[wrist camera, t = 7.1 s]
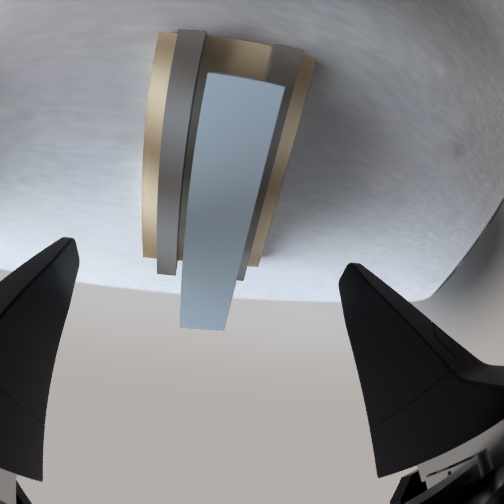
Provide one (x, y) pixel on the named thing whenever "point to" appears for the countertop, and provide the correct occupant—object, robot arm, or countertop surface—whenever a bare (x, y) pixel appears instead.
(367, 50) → the countertop surface
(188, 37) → the door track
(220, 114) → the door panel
